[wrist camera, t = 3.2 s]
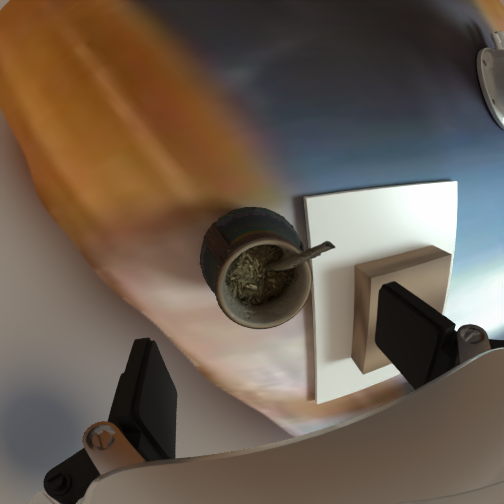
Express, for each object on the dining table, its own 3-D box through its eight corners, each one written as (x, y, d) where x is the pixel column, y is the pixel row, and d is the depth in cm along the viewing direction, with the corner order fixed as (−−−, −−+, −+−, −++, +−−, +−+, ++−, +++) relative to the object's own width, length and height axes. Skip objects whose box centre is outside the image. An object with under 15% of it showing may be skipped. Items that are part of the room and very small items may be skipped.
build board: (303, 197, 22) (306, 198, 21) (452, 180, 23) (457, 181, 23) (314, 399, 30) (316, 404, 29) (429, 354, 31) (432, 357, 31)
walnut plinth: (354, 265, 24) (371, 278, 21) (432, 245, 24) (451, 254, 22) (351, 357, 27) (362, 374, 24) (421, 330, 28) (435, 343, 25)
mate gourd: (184, 261, 22) (169, 329, 13) (233, 180, 21) (253, 190, 11) (258, 301, 24) (287, 378, 15) (307, 227, 23) (370, 270, 13)
